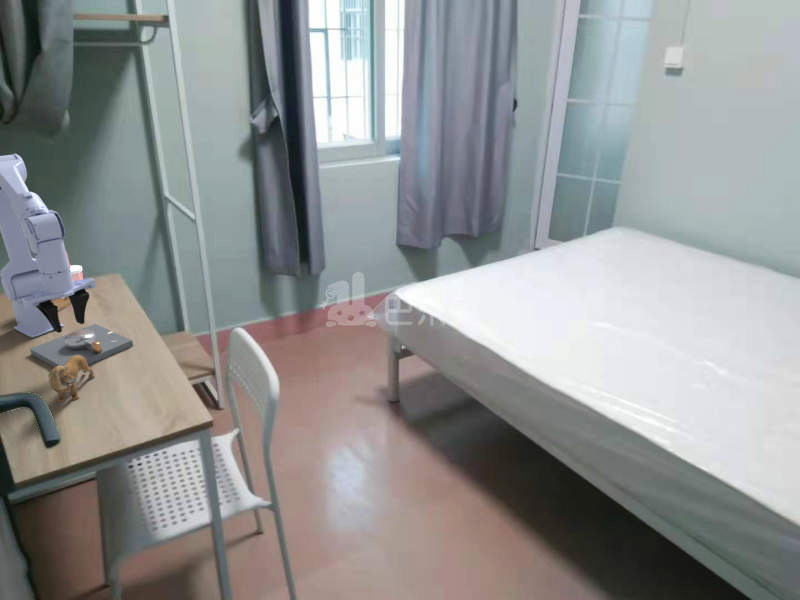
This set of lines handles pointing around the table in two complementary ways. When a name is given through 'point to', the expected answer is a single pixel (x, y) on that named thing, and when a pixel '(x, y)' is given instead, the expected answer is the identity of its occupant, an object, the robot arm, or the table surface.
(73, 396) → the lion figurine
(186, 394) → the table surface
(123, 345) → the dial board
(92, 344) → the dial
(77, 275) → the beverage cup
